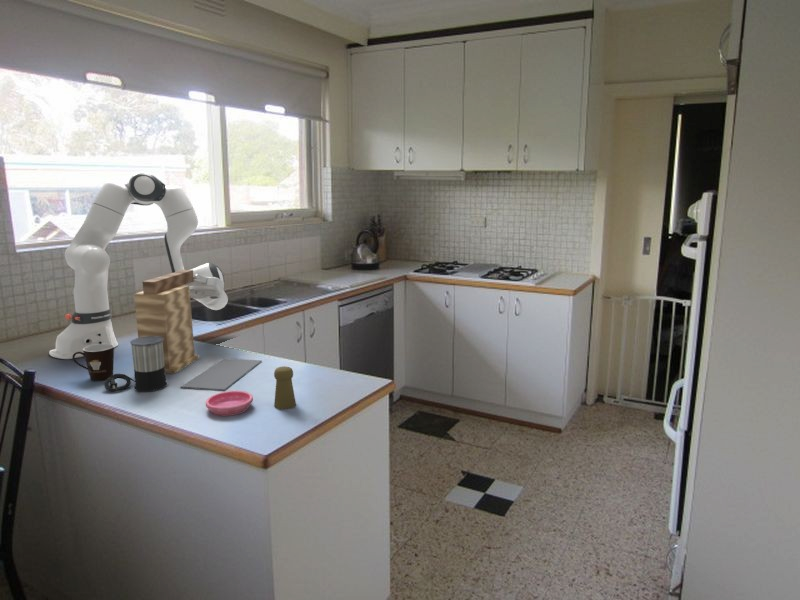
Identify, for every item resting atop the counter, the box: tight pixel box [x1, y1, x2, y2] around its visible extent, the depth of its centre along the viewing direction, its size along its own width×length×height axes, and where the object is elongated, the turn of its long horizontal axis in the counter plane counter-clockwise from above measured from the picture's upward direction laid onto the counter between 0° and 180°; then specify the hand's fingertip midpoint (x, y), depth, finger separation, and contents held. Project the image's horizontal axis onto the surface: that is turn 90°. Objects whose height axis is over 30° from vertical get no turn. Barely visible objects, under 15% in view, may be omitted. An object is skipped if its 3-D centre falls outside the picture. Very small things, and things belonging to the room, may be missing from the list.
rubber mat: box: [180, 358, 262, 392], centre depth 184 cm, size 28×14×1 cm, turn 171°
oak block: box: [133, 286, 200, 375], centre depth 190 cm, size 16×13×26 cm
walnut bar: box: [142, 269, 194, 294], centre depth 191 cm, size 24×4×4 cm, turn 171°
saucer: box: [205, 390, 254, 417], centre depth 156 cm, size 12×12×3 cm
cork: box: [273, 366, 297, 410], centre depth 157 cm, size 6×6×11 cm
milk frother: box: [103, 336, 168, 393], centre depth 170 cm, size 14×16×15 cm
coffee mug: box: [72, 344, 115, 382], centre depth 180 cm, size 12×9×10 cm
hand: (183, 276), depth 200 cm, fingers open, 8 cm apart
